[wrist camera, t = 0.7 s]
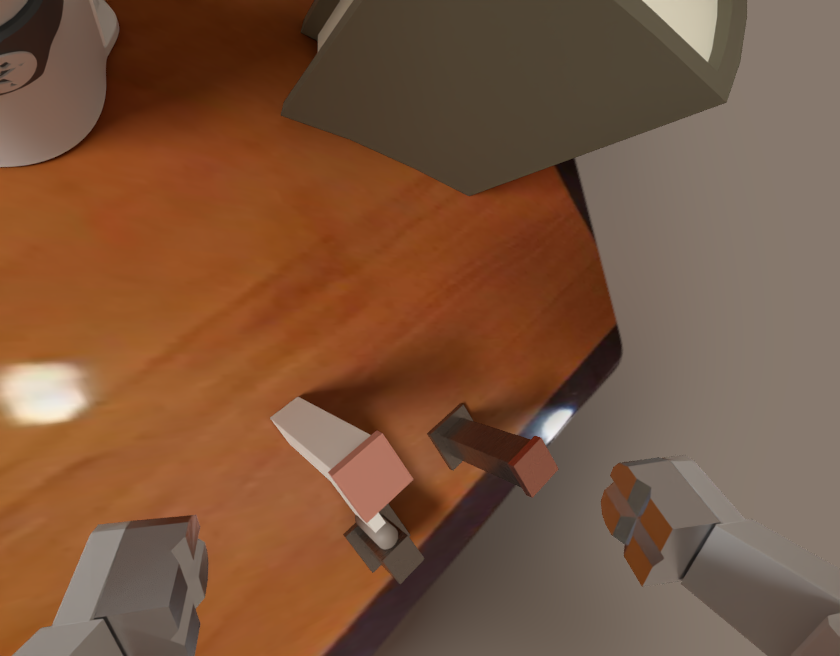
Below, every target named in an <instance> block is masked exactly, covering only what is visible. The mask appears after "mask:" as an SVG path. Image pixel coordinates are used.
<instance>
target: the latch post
mask: <svg viewBox="0 0 840 656" xmlns="http://www.w3.org/2000/svg"><path fill="white" fill-rule="evenodd" d="M427 434H428V436H429V437H430V439H431V440H432V442H433V444H434V445H435V447H436V448H437V450H438V451H439V453H440V454H441V456H442V458H443V459H444V461H445V462H446V464H447V465H448V467H449V468H450V469H451V470H454V469H455V468H456V467H457V466H458V465H459V464H460V463H461V462H462V461H464V462H466V463H469V464H471V465H473V466H475V467H477V468H480V469H482V470H484V471H486V472H488V473H491V474H493V475H495V476H497V477H499V478H502V479H504V480H506V481H508V482H510V483H513V484H515V485H517V486H519V487H521V488H522V489H523V491H524V492H525V494H526V495H527V496H529V497H534V496H535V494H536V493H537V492H538V491H539V490H540V489H541V488H542V487H543V486H544V485H545V483H546V482H547V481H548V480H549V479H550V478H551V477H552V476H553V475H554V473H555V472H556V471H557V470H558V467H557V465H556V464H555V462H554V460H553V458H552V456H551V455H550V453H549V451H548V449H547V447H546V445H545V444H544V442H543V440H542V438H540V437H537V436H534V437H533V438H532V439H531V440H530V439H527V438H524V437H521V436H518V435H515V434H511V433H508V432H505V431H502V430H499V429H496V428H492V427H489V426H486V425H483V424H480V423H477V422H474V421H473V420H472V418H471V416H470V415H469V413H468V411H467V410H466V408H465V406H464V405H463V404H459V405H458V406H457V407H456V408H455V409H454V410H453V411H452V412H451V413H449V414H448V415H447V416H446V417H445V418H444V419H443V420H442V421H441V422H440V423H438V424H437V425H436V426H435V427H434V428H433V429H432V430H431V431H430V432H428V433H427Z"/></svg>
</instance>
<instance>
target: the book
mask: <svg viewBox="0 0 840 656" xmlns="http://www.w3.org/2000/svg"><path fill="white" fill-rule="evenodd" d="M746 19H747V0H314V2H313V4H312V6H311V8H310V9H309V11H308V13H307V15H306V16H305V18H304V21H303V25H302V29H301V33H303V34H305V35H307V36H309V37H310V38H312V39H314V40H316V41H318V53H317V54H316V56H315V57H314V59H313V60H312V62H311V63H310V64H309V66H308V67H307V69H306V70H305V72H304V73H303V75H302V76H301V78H300V79H299V81H298V82H297V84H296V85H295V86H294V88H293V89H292V91H291V92H290V94H289V95H288V97H287V98H286V100H285V101H284V104H283V108H282V112H281V116H284V117H287V118H290V119H292V120H295V121H298V122H301V123H304V124H307V125H310V126H313V127H316V128H318V129H321V130H324V131H327V132H330V133H333V134H336V135H339V136H342V137H344V138H347V139H350V140H352V141H355V142H357V143H359V144H361V145H363V146H366V147H368V148H370V149H372V150H375V151H377V152H379V153H381V154H383V155H386V156H388V157H390V158H392V159H395V160H397V161H399V162H401V163H404V164H406V165H408V166H410V167H412V168H415V169H417V170H419V171H420V172H422V173H424V174H426V175H428V176H430V177H432V178H434V179H436V180H438V181H440V182H442V183H444V184H446V185H448V186H450V187H452V188H454V189H456V190H458V191H460V192H462V193H464V194H466V195H468V196H471V195H473V194H476V193H479V192H482V191H484V190H487V189H490V188H493V187H495V186H498V185H501V184H504V183H506V182H509V181H512V180H515V179H517V178H520V177H523V176H526V175H528V174H531V173H534V172H537V171H539V170H542V169H545V168H548V167H550V166H553V165H556V164H559V163H561V162H564V161H567V160H570V159H572V158H575V157H578V156H581V155H583V154H586V153H589V152H592V151H594V150H597V149H600V148H603V147H605V146H608V145H611V144H614V143H616V142H619V141H622V140H625V139H627V138H630V137H633V136H636V135H638V134H641V133H644V132H647V131H649V130H652V129H655V128H658V127H660V126H663V125H666V124H669V123H671V122H674V121H677V120H679V119H682V118H685V117H688V116H691V115H693V114H696V113H699V112H702V111H704V110H707V109H710V108H712V107H715V106H718V105H721V104H724V103H726V102H727V99H728V96H729V93H730V91H731V88H732V85H733V82H734V79H735V75H736V73H737V70H738V67H739V64H740V59H741V53H742V46H743V40H744V32H745V26H746Z"/></svg>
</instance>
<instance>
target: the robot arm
mask: <svg viewBox="0 0 840 656" xmlns="http://www.w3.org/2000/svg"><path fill="white" fill-rule="evenodd" d="M118 34H119V23H118V20H117V17H116V15H115V13H114V11H113V10H112V9H111V7H110V6H109V5H108V4H107V3H106V2H105V1H104V0H0V167H14V166H23V165H30V164H34V163H39V162H42V161H46V160H49V159H51V158H54V157H56V156H58V155H61V154H63V153H64V152H66V151H68V150H70V149H71V148H73V147H74V146H75V145H77V144H78V143H79V142H80V141H82V140H83V139H84V138H85V137H86V136H87V134H88V133H89V132H90V131H91V130H92V128H93V127H94V125H95V124H96V122H97V120H98V118H99V116H100V114H101V112H102V109H103V105H104V101H105V95H106V61H107V57H108V55H109V53H110V51H111V50H112V48H113V46H114V44H115V42H116V40H117V37H118ZM610 476H611V478H612V479H613V481H614V482H613V483H612V484H611V485H610V486H609V487H607V489H605V490H604V493H603V496H602V499H601V507H602V515H603V518H604V521H605V524H606V526H607V528H608V529H609V531H610V533H611V535H612V536H613V537H615V538H616V539H618V540H619V541H620V542H622V543H623V544H625V547H624V557H625V559H626V560H627V562H628V564H629V565H630V567H631V569H632V570H633V572H634V574H635V575H636V577H637V579H638V581H639V582H640V584H641V586H642V587H644V586H651V585H658V584H665V583H672V582H679V581H682V582H681V584H682V585H683V586H684V587H685V588H686V589H688V590H689V591H690V592H691V593H692V594H694V595H695V596H696V597H697V598H698V599H700V600H701V601H702V602H703V603H704V604H706V605H707V606H708V607H709V608H710V609H712V610H713V611H714V612H715V613H717V614H718V615H719V616H720V617H721V618H723V619H724V620H725V621H726V622H727V623H729V624H730V625H731V626H732V627H734V628H735V629H736V630H737V631H738V632H739V633H741V634H742V635H743V636H744V637H745V638H747V639H748V640H749V641H750V642H751V643H753V644H754V645H755V646H756V647H758V648H759V649H760V650H761V651H762V652H764V653H765V654H766V655H767V656H840V568H838V567H836V566H834V565H833V564H831V563H829V562H827V561H826V560H824V559H822V558H820V557H819V556H817V555H815V554H813V553H812V552H810V551H808V550H806V549H804V548H803V547H801V546H799V545H797V544H796V543H794V542H792V541H790V540H789V539H787V538H785V537H783V536H781V535H780V534H778V533H776V532H774V531H773V530H771V529H769V528H767V527H766V526H764V525H762V524H760V523H758V522H757V521H755V520H753V519H747V520H745V519H744V517H743V516H742V515H741V514H740V513H739V512H738V511H737V509H736V508H735V507H734V506H733V505H732V504H731V503H730V501H729V500H728V499H727V498H726V497H725V496H724V495H723V493H722V492H721V491H720V490H719V489H718V488H717V486H716V485H715V484H714V483H713V482H712V481H711V480H710V478H709V477H708V476H707V475H706V474H705V473H704V472H703V470H702V469H701V468H700V467H699V466H698V465H697V464H696V462H695V461H694V460H693V459H691V458H690V457H688V456H686V455H679V456H671V457H664V458H659V457H658V458H651V459H644V460H637V461H629V462H622V463H618V464H617V465H616V466H615V467H613V470H612V472H611V475H610ZM199 530H200V525H199V522H198V519H197V516H196V515H190V516H179V517H169V518H158V519H147V520H137V521H127V522H118V523H109V524H100V525H98V526H97V527H96V528H95V530H94V531H93V532H92V533H91V534H90V536H89V539H88V541H87V543H86V546H85V548H84V551H83V553H82V555H81V558H80V560H79V562H78V565H77V567H76V570H75V572H74V574H73V577H72V579H71V581H70V584H69V586H68V589H67V591H66V593H65V596H64V598H63V600H62V603H61V605H60V608H59V610H58V612H57V615H56V617H55V620H54V622H53V624H52V626H49V627H43V628H40V629H39V630H38V631H37V632H36V633H35V634H34V635H33V636H32V637H31V638H30V639H29V640H28V641H27V642H26V643H25V644H24V645H23V646H22V647H21V648H20V649H19V650H17V651H16V652H15V653H14V654H13V655H12V656H195V650H196V644H197V639H198V633H199V628H200V622H199V619H198V616H197V613H196V608H197V606H198V605H199V604H200V603H201V601H202V600H203V599H204V598H205V593H206V587H207V581H208V555H207V549H206V545H205V542H203V541H202V540H200V539H198V535H199Z"/></svg>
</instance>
